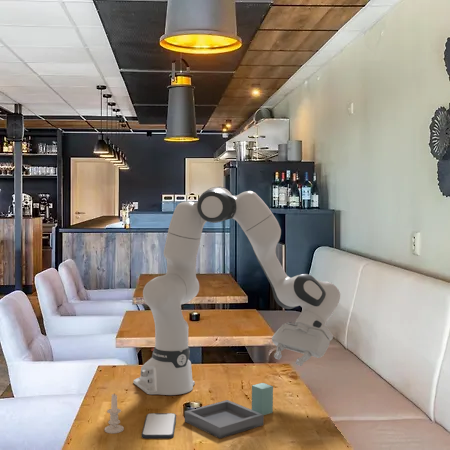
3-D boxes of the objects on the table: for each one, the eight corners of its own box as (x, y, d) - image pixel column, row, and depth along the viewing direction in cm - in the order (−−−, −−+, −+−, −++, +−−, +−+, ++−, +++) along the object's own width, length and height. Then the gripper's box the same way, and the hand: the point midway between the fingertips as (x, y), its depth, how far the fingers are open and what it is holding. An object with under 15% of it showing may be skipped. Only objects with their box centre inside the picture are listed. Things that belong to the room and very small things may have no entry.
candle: (122, 425, 169) (122, 389, 169) (125, 432, 164) (125, 394, 164) (103, 427, 168) (103, 390, 167) (105, 434, 163) (105, 396, 162)
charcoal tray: (184, 421, 173) (184, 411, 173) (227, 409, 183) (227, 399, 183) (219, 438, 161) (219, 427, 160) (263, 425, 171) (263, 414, 171)
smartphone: (173, 441, 161) (176, 418, 177) (173, 435, 160) (176, 412, 176) (140, 441, 160) (146, 418, 176) (140, 435, 160) (146, 413, 176)
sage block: (251, 411, 182) (251, 385, 181) (262, 408, 185) (262, 382, 184) (261, 415, 178) (262, 389, 178) (272, 412, 181) (273, 386, 181)
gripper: (281, 315, 200) (259, 348, 194) (328, 325, 184) (306, 362, 178) (290, 326, 203) (269, 360, 197) (337, 337, 187) (316, 374, 181)
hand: (287, 361), depth 188 cm, fingers open, 8 cm apart
